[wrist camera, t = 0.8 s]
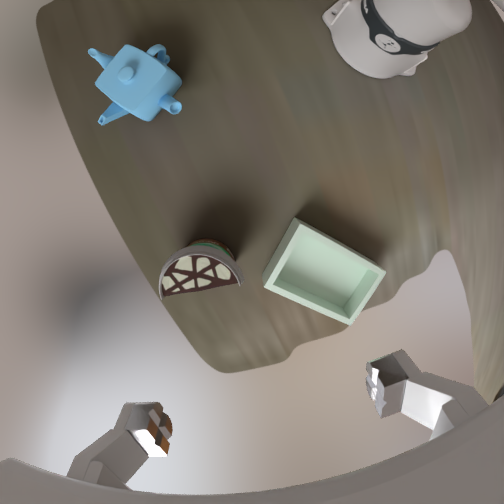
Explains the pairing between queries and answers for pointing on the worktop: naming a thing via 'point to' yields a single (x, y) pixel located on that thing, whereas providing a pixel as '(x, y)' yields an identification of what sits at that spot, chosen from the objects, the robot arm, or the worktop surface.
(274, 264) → the crate
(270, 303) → the worktop surface
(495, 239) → the worktop surface
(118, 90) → the teapot
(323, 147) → the worktop surface
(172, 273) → the food container
